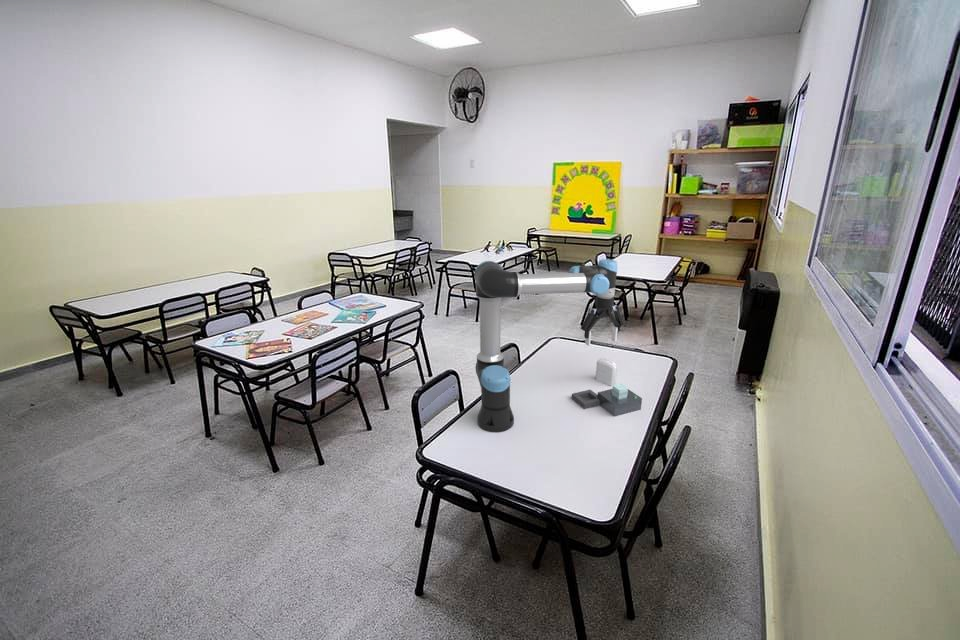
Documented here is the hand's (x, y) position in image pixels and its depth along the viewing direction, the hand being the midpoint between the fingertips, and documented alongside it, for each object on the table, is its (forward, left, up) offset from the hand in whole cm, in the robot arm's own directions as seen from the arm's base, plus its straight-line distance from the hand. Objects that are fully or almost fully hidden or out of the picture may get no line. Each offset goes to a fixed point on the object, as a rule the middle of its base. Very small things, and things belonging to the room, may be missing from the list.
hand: (600, 342), depth 192 cm
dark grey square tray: (-7, -3, -27) cm, 28 cm away
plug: (+3, -12, -26) cm, 28 cm away
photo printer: (+12, +9, -27) cm, 31 cm away
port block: (+3, -12, -27) cm, 29 cm away
